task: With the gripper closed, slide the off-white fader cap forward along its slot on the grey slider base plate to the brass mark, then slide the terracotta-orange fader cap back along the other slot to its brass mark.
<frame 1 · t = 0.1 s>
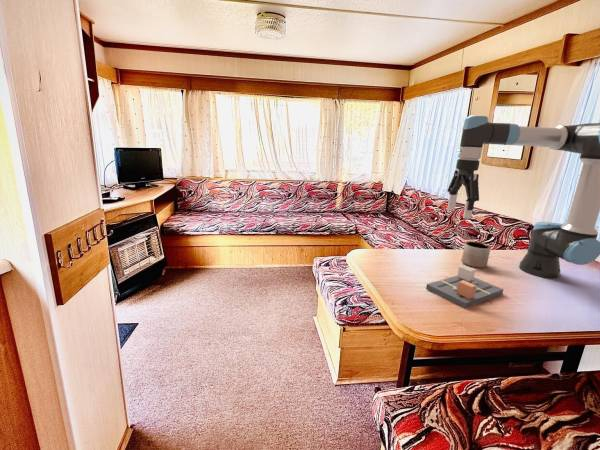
hand: (458, 214, 125), 28 cm above the table, fingers open, 13 cm apart
grey slider base plate: (464, 291, 122), on the table
fader a: (466, 273, 128), point 5 cm above the table, slide at 0.0 cm
planter: (473, 264, 152), on the table
fader b: (466, 289, 114), point 5 cm above the table, slide at 0.0 cm
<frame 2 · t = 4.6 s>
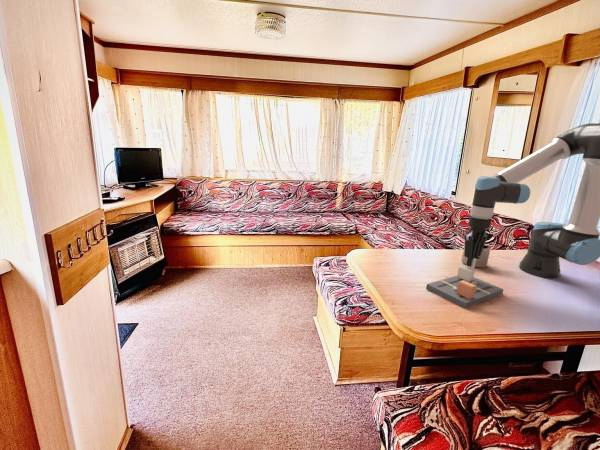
hand: (468, 273, 129), 4 cm above the table, fingers closed
fader a: (465, 273, 128), point 4 cm above the table, slide at 0.2 cm, touching gripper
everything else where it was.
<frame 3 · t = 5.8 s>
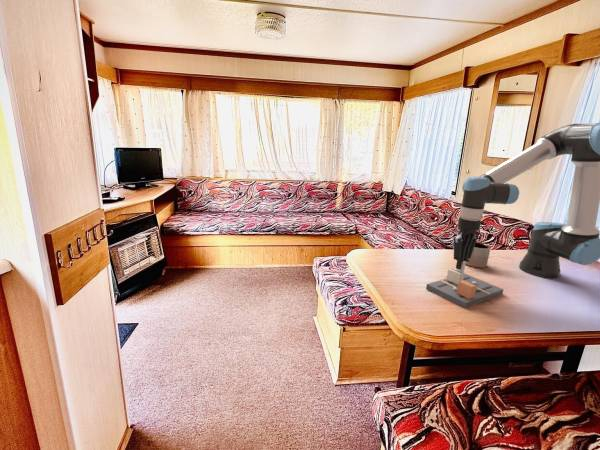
hand: (458, 275, 126), 4 cm above the table, fingers closed
fader a: (455, 276, 125), point 4 cm above the table, slide at 7.1 cm, touching gripper
everything else where it was.
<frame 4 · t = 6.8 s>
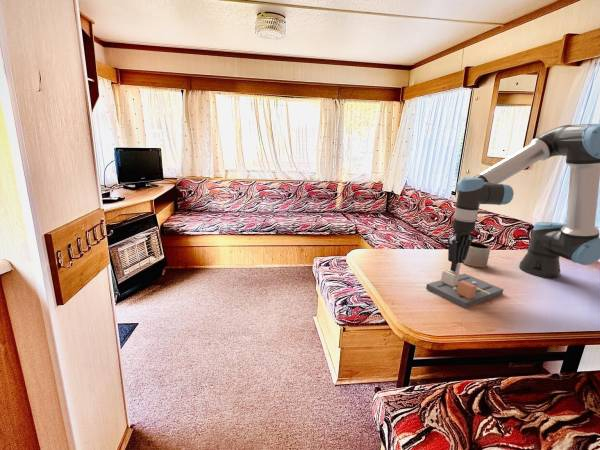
hand: (453, 277, 124), 4 cm above the table, fingers closed
fader a: (449, 277, 123), point 4 cm above the table, slide at 10.5 cm, touching gripper
everything else where it was.
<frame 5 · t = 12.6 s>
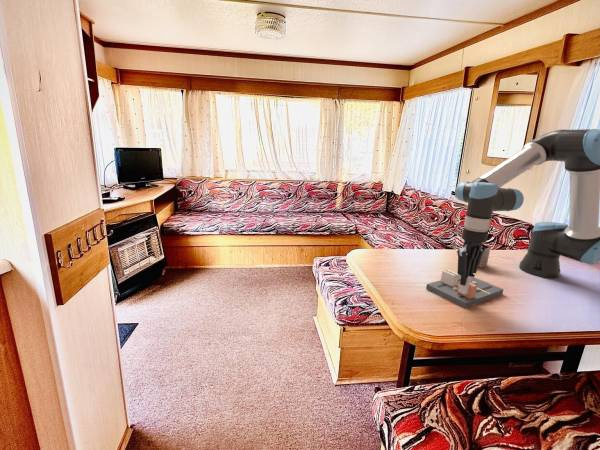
hand: (463, 292, 113), 4 cm above the table, fingers closed
fader a: (449, 277, 123), point 5 cm above the table, slide at 10.7 cm
fader b: (466, 289, 114), point 5 cm above the table, slide at 0.3 cm, touching gripper
everything else where it was.
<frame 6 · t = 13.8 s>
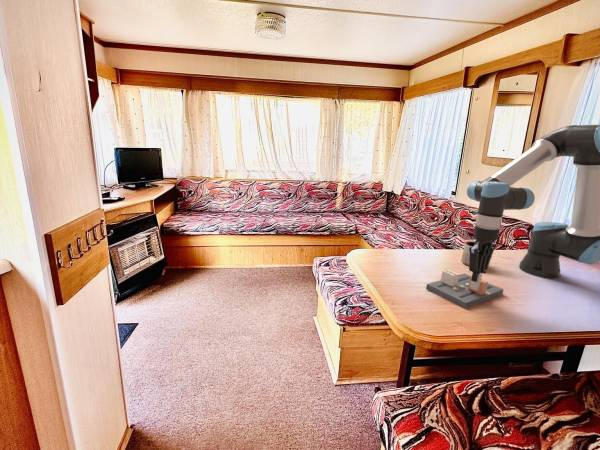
hand: (474, 288, 116), 4 cm above the table, fingers closed
fader b: (477, 285, 117), point 4 cm above the table, slide at 7.1 cm, touching gripper
everything else where it was.
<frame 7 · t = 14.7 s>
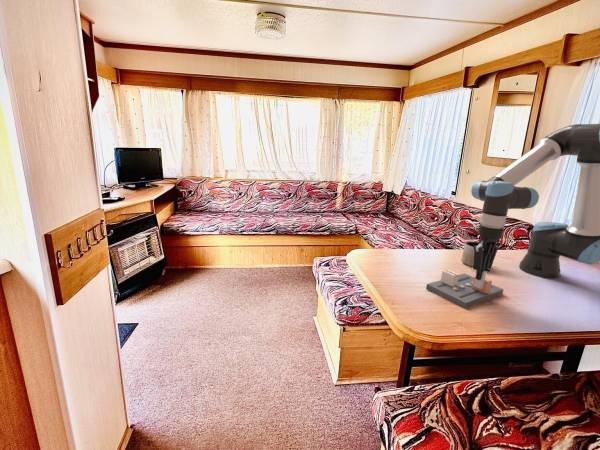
hand: (478, 287, 118), 4 cm above the table, fingers closed
fader b: (481, 284, 119), point 5 cm above the table, slide at 9.7 cm, touching gripper
everything else where it was.
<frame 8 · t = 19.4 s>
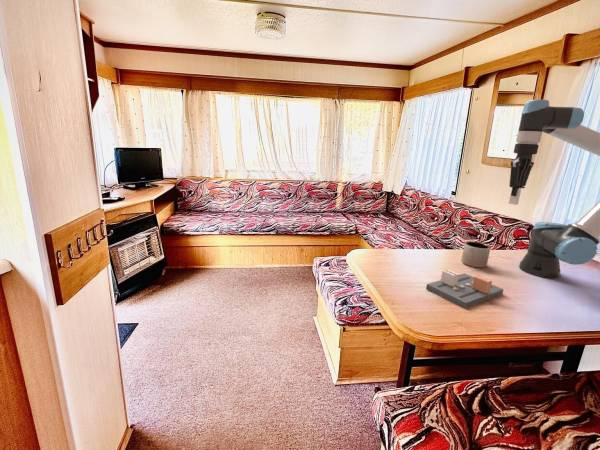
hand: (513, 203, 128), 32 cm above the table, fingers closed
fader b: (481, 284, 119), point 5 cm above the table, slide at 9.7 cm
everything else where it was.
at the end: fader a slide at 10.7 cm; fader b slide at 9.7 cm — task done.
